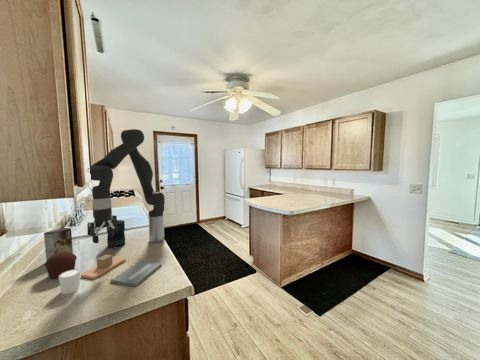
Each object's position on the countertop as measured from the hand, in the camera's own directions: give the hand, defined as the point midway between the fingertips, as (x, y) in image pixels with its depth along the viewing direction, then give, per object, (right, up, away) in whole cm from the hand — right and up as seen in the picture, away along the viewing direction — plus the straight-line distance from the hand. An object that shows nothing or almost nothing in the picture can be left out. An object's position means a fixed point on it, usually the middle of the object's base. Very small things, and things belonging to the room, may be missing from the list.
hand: (104, 239), depth 98 cm
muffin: (-17, -15, -4) cm, 23 cm away
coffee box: (-31, -14, +10) cm, 35 cm away
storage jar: (-12, -13, +29) cm, 34 cm away
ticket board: (+18, -15, -3) cm, 24 cm away
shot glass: (-3, -16, -16) cm, 23 cm away
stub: (0, -15, +1) cm, 15 cm away
